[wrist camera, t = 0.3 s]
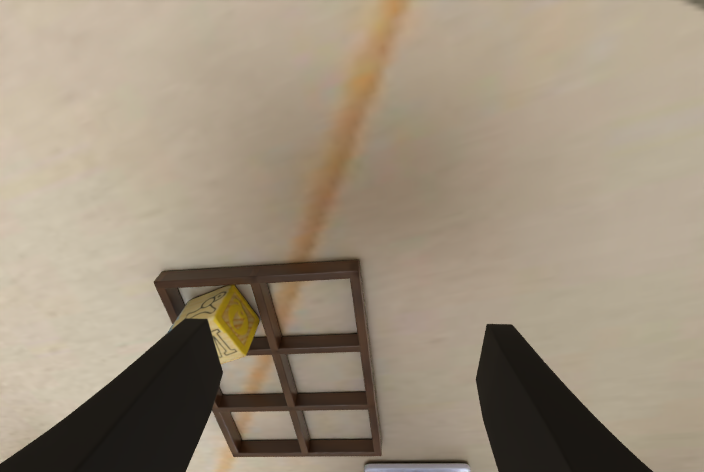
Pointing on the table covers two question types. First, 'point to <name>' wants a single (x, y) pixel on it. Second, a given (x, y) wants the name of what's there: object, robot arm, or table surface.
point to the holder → (279, 349)
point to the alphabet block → (224, 321)
